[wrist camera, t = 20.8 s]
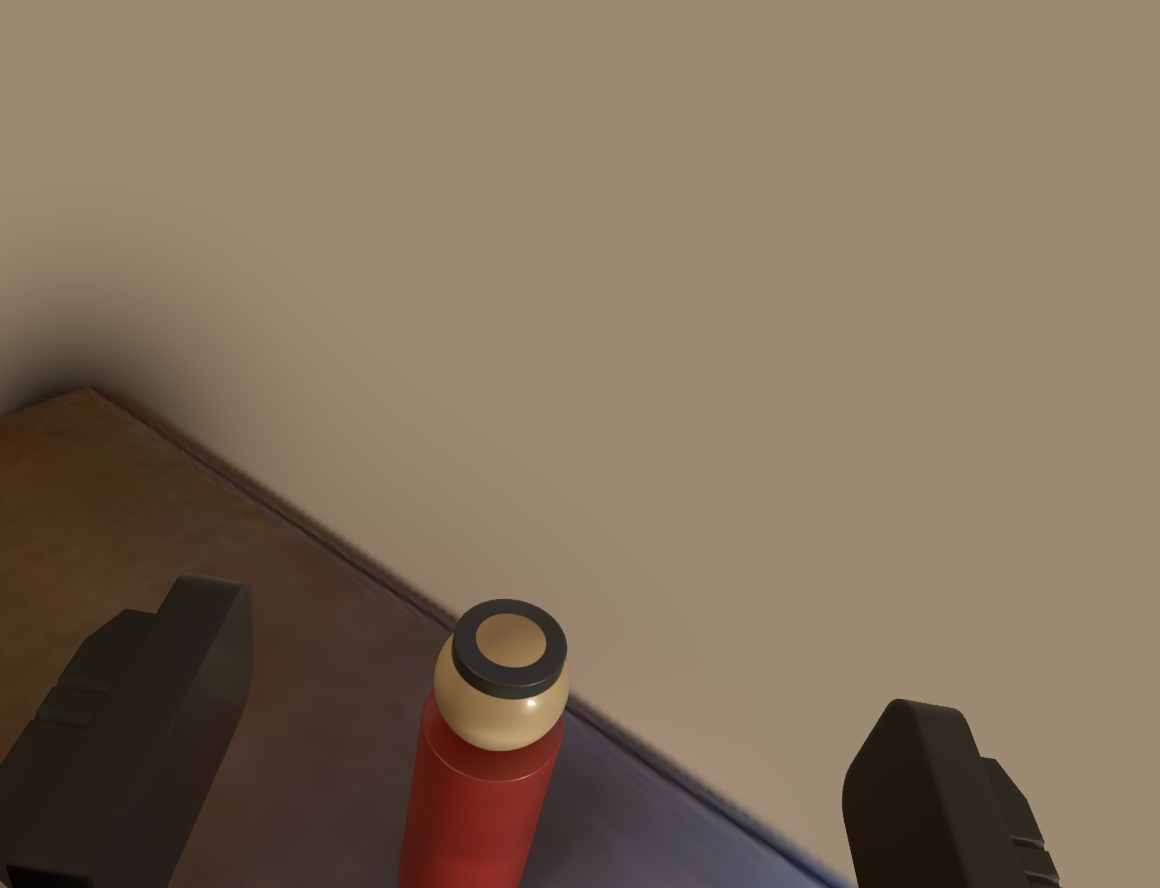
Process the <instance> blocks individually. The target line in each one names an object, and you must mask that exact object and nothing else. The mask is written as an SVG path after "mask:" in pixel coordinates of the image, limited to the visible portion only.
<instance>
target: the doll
mask: <svg viewBox="0 0 1160 888" xmlns="http://www.w3.org/2000/svg"><path fill="white" fill-rule="evenodd" d="M566 655H567V642H566V638H565V635H564V633H563V630H562V629H561V627H560V625H559V624H558V623H557V622H556V621H555V619H554V618H552V616H550V615H549V614H548V613H547V612H545V611H544V610H542V609H540V608H539V607H537V606H534V605H532V604H529V603H527V602H523V601H519V600H512V599H496V600H490V601H486V602H483V603H480V604H478V605H476V606H474V607H472V608H471V609H469V610H468V611H467V612H466V613H465V614H464V615H463V616H462V617H461V618H460V619H459V621H458V623H457V624H456V627H455V630H454V633H453V634H452V635H451V636H450V638H449V639H448V640H447V642H446V643H445V645H444V646H443V648H442V650H441V652H440V655H439V657H438V660H437V664H436V668H435V673H434V688H433V689H432V690H431V692H430V693H429V695H428V697H427V699H426V701H425V704H424V707H423V712H422V718H421V725H420V732H419V738H418V745H417V752H416V759H415V766H414V772H413V779H412V786H411V793H410V800H409V806H408V813H407V820H406V827H405V834H404V841H403V847H402V854H401V861H400V868H399V878H398V881H399V888H519V885H520V881H521V878H522V875H523V871H524V868H525V864H526V861H527V858H528V854H529V851H530V847H531V844H532V841H533V837H534V834H535V830H536V827H537V823H538V820H539V817H540V813H541V810H542V806H543V803H544V800H545V796H546V793H547V789H548V786H549V782H550V779H551V776H552V772H553V769H554V765H555V762H556V759H557V755H558V752H559V748H560V745H561V741H562V737H563V718H562V712H563V709H564V707H565V704H566V702H567V698H568V694H569V688H570V671H569V665H568V661H567V657H566Z"/></svg>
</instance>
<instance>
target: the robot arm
mask: <svg viewBox="0 0 1160 888" xmlns="http://www.w3.org/2000/svg"><path fill="white" fill-rule="evenodd" d="M252 673H253V610H252V588H251V585H250V584H249V583H246V582H240V581H234V580H229V579H223V578H217V577H211V576H206V575H200V574H194V573H188V572H186V573H183V574H182V575H181V576H180V577H179V578H178V579H177V580H176V582H175V583H174V585H173V586H172V588H171V590H170V591H169V593H168V595H167V596H166V598H165V600H164V601H163V603H162V605H161V606H160V608H159V610H158V611H157V613H156V614H153V613H148V612H142V611H136V610H130V609H125V610H124V611H122V612H121V613H120V614H118V615H117V616H116V617H114V618H113V619H112V620H110V621H109V622H108V623H106V624H105V625H104V626H102V627H101V628H100V629H98V630H97V631H96V632H94V633H93V634H92V635H90V636H89V637H88V638H86V639H85V640H84V642H83V643H82V645H81V646H80V648H79V649H78V651H77V652H76V653H75V655H74V656H73V658H72V659H71V661H70V662H69V664H68V665H67V667H66V668H65V670H64V671H63V673H62V674H61V676H60V677H59V679H58V684H57V686H56V687H53V688H52V689H51V691H50V692H49V694H48V695H47V697H46V698H45V700H44V701H43V703H42V704H41V706H40V707H39V709H38V710H37V711H36V717H35V719H34V720H30V722H29V723H28V725H27V726H26V728H25V729H24V731H23V732H22V734H21V735H20V737H19V738H18V740H17V741H16V743H15V744H14V746H13V747H12V749H11V750H10V752H9V753H8V755H7V756H6V758H5V759H4V761H3V762H2V764H1V765H0V888H167V886H168V883H169V881H170V879H171V877H172V874H173V872H174V870H175V867H176V865H177V863H178V861H179V858H180V856H181V854H182V851H183V849H184V847H185V845H186V842H187V840H188V838H189V835H190V833H191V831H192V828H193V826H194V824H195V822H196V819H197V817H198V815H199V812H200V810H201V808H202V806H203V803H204V801H205V799H206V796H207V794H208V792H209V790H210V787H211V785H212V783H213V780H214V778H215V776H216V773H217V771H218V769H219V767H220V764H221V762H222V760H223V757H224V755H225V753H226V751H227V748H228V746H229V744H230V741H231V739H232V737H233V735H234V732H235V730H236V728H237V725H238V723H239V721H240V718H241V716H242V713H243V710H244V708H245V704H246V701H247V698H248V694H249V690H250V685H251V680H252ZM842 810H843V818H844V823H845V827H846V832H847V836H848V841H849V846H850V850H851V855H852V859H853V863H854V868H855V873H856V877H857V882H858V886H859V888H1060V887H1059V883H1058V881H1059V876H1058V874H1057V871H1056V869H1055V867H1054V864H1053V862H1052V859H1051V857H1050V855H1049V852H1048V851H1045V850H1044V843H1045V842H1044V840H1043V838H1042V835H1041V833H1040V830H1039V828H1038V825H1037V823H1036V821H1035V818H1034V816H1033V813H1032V811H1031V809H1030V806H1029V804H1028V802H1027V799H1026V798H1025V797H1024V795H1023V794H1022V793H1021V792H1020V790H1019V789H1018V788H1017V786H1016V785H1015V784H1014V783H1013V781H1012V780H1011V779H1010V778H1009V776H1008V775H1007V774H1006V772H1005V771H1004V770H1003V768H1002V767H1001V766H1000V765H999V763H998V762H997V761H996V760H995V759H990V758H984V757H980V754H979V752H978V749H977V747H976V744H975V741H974V739H973V736H972V733H971V731H970V728H969V725H968V723H967V721H966V719H965V718H964V716H963V714H962V713H961V712H960V711H958V710H957V709H954V708H949V707H944V706H938V705H931V704H926V703H921V702H915V701H909V700H903V699H895V700H893V701H891V702H890V703H889V704H888V706H887V707H886V709H885V710H884V712H883V713H882V715H881V717H880V718H879V720H878V722H877V723H876V725H875V727H874V728H873V730H872V731H871V733H870V734H869V736H868V738H867V739H866V741H865V742H864V744H863V746H862V747H861V749H860V751H859V752H858V754H857V755H856V757H855V759H854V760H853V762H852V763H851V765H850V767H849V769H848V771H847V774H846V777H845V781H844V786H843V794H842Z"/></svg>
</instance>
